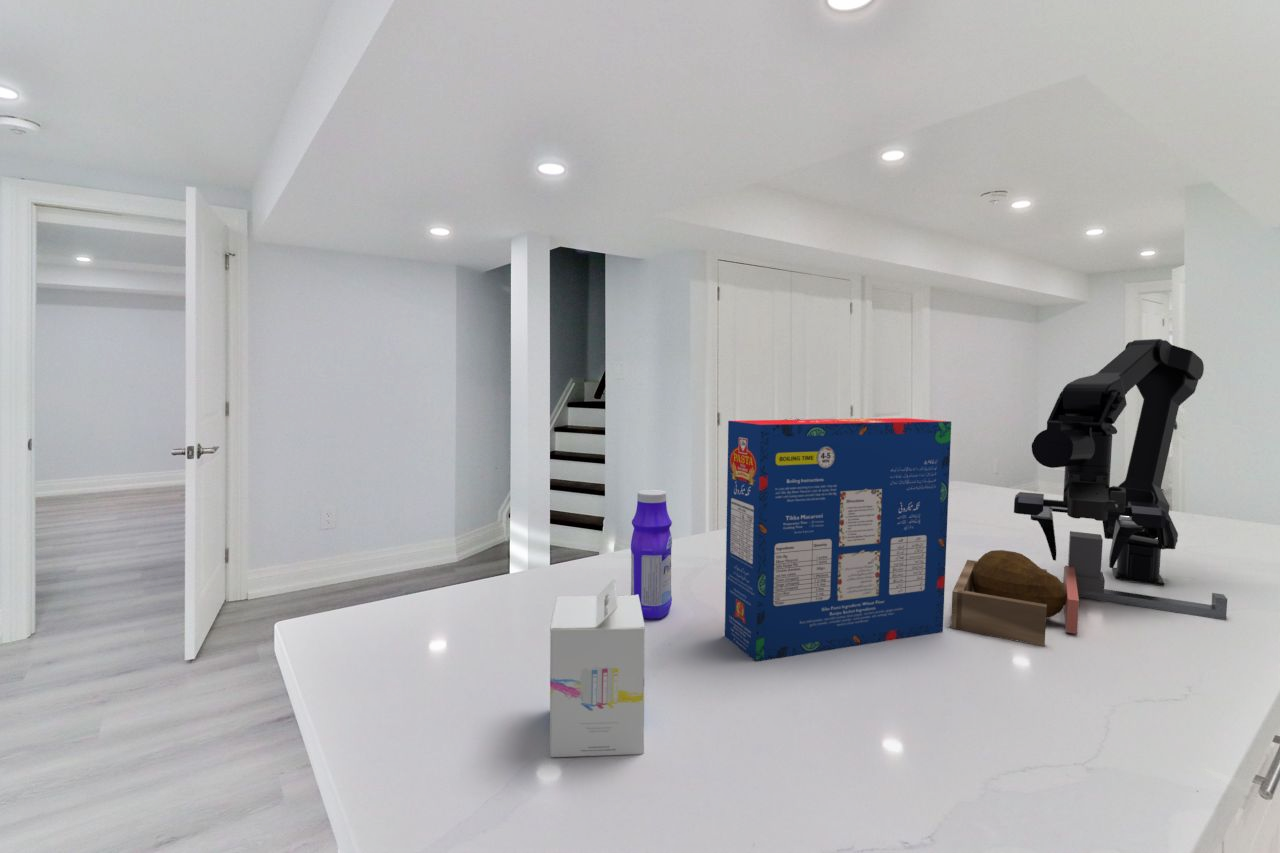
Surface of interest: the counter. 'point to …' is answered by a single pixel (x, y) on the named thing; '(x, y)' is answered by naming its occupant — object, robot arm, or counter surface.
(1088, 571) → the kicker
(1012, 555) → the potato
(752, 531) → the pasta box
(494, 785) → the counter surface
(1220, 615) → the rail
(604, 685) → the ink box
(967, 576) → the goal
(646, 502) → the bottle
